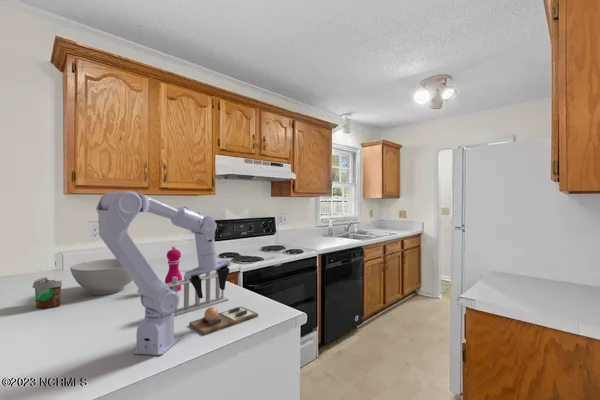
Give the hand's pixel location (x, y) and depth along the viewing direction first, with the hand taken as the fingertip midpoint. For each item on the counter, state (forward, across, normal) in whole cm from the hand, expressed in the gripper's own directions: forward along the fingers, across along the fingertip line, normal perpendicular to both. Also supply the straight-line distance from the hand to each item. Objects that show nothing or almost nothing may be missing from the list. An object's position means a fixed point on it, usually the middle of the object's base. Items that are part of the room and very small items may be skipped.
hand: (211, 293), depth 94 cm
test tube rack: (+11, -1, -18) cm, 21 cm away
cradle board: (+10, -3, +1) cm, 11 cm away
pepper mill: (+12, -2, -46) cm, 48 cm away
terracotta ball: (+6, +2, +1) cm, 7 cm away
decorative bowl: (+9, +21, -65) cm, 69 cm away
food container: (+6, +42, -56) cm, 71 cm away
